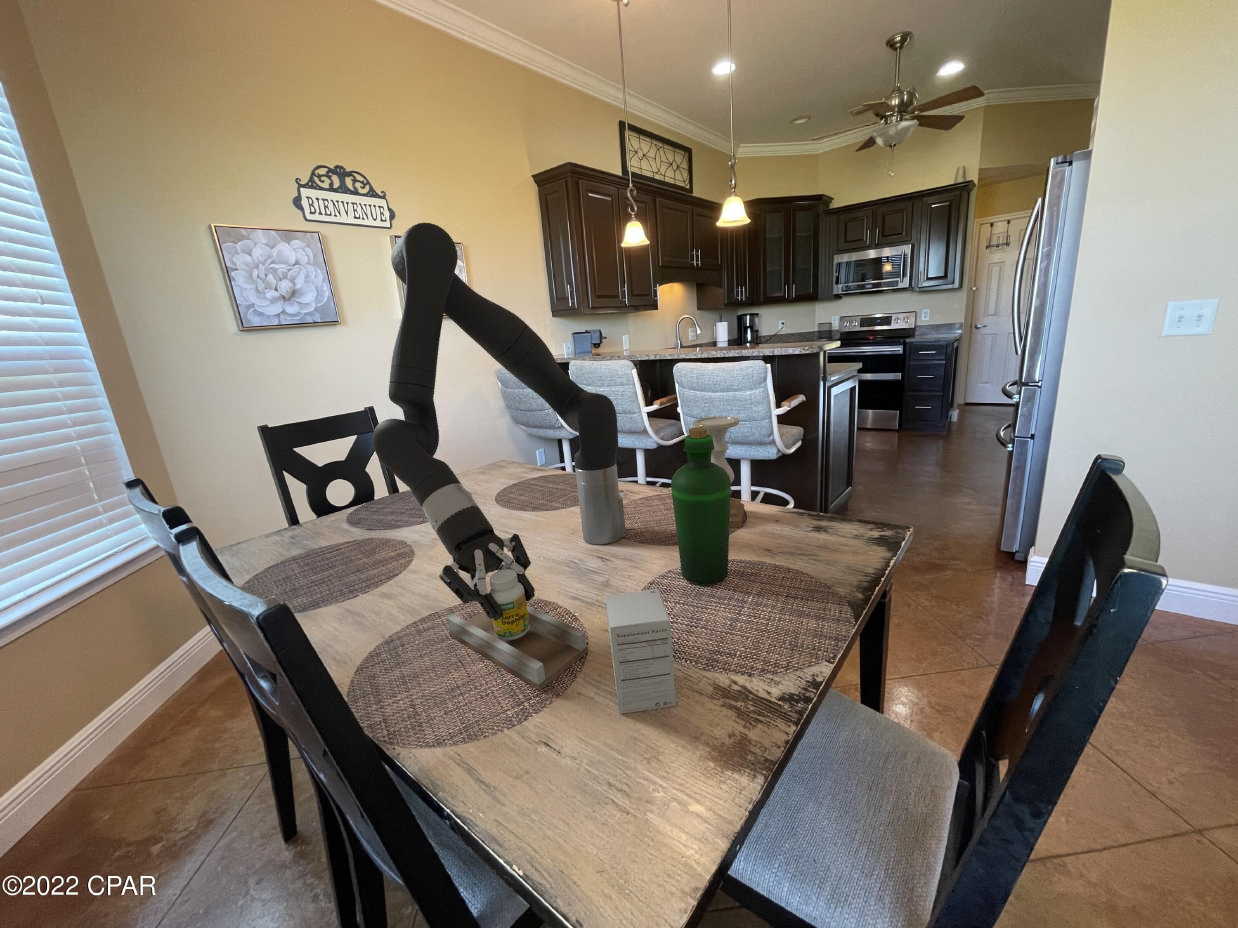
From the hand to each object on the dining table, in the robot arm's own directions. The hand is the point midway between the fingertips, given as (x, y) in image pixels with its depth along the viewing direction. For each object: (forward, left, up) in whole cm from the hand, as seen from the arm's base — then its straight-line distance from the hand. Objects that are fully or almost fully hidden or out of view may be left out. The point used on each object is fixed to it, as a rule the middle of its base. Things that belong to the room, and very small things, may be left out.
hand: (515, 607), depth 71 cm
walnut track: (+1, -1, -7) cm, 7 cm away
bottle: (-35, -5, -7) cm, 36 cm away
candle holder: (-52, -27, -7) cm, 59 cm away
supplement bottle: (+1, -2, -5) cm, 5 cm away
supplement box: (-13, +17, -7) cm, 22 cm away
